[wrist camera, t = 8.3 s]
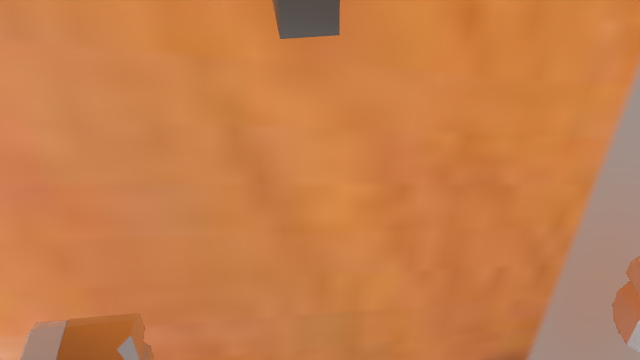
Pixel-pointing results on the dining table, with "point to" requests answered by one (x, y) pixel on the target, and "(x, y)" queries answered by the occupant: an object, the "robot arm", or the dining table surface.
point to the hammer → (307, 18)
